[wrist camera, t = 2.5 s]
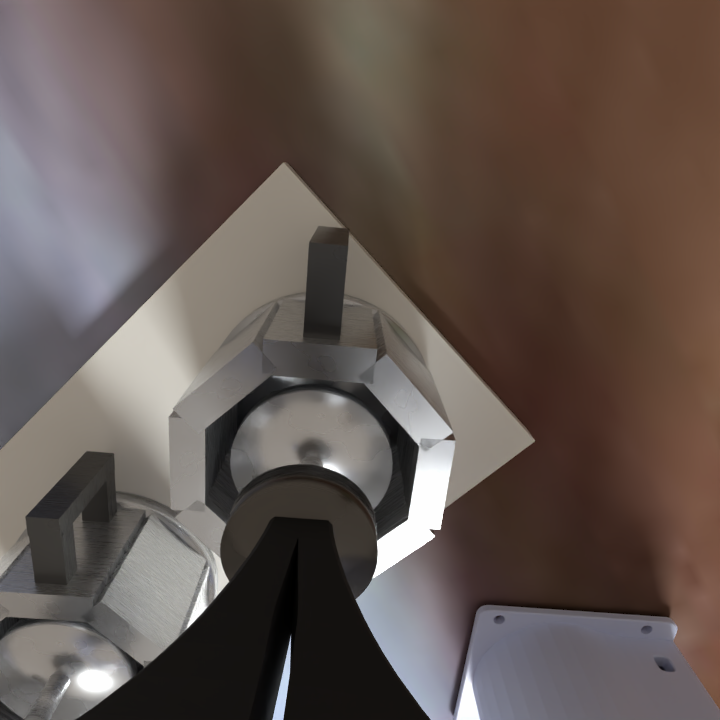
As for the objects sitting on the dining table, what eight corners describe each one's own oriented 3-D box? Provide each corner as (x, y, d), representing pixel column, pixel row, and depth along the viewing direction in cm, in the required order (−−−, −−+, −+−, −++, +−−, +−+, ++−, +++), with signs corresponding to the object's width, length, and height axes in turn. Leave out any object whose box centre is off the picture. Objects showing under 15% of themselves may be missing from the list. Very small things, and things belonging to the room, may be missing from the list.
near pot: (456, 236, 19) (496, 262, 13) (415, 501, 22) (433, 601, 17) (210, 211, 18) (155, 229, 13) (209, 485, 22) (165, 582, 17)
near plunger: (400, 390, 16) (417, 473, 12) (381, 527, 17) (390, 642, 13) (235, 376, 16) (192, 455, 11) (233, 515, 17) (193, 629, 13)
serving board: (287, 162, 19) (283, 162, 18) (527, 429, 22) (535, 440, 21) (-72, 525, 23) (-89, 540, 22) (174, 696, 27) (167, 715, 26)
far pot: (220, 448, 21) (178, 536, 16) (217, 653, 25) (182, 779, 20) (1, 430, 21) (-112, 515, 16) (31, 642, 24) (-54, 766, 19)
